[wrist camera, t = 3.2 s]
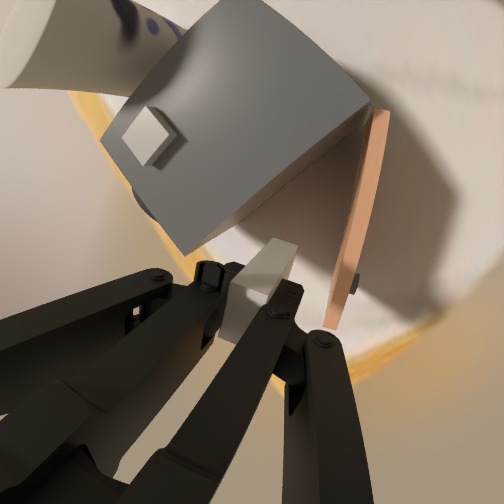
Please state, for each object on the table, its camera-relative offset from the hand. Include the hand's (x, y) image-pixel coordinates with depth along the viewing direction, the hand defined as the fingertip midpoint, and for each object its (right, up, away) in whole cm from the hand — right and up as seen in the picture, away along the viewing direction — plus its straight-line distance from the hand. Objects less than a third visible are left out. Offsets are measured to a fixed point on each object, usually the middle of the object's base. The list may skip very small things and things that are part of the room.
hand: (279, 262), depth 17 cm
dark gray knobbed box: (-2, +12, +11) cm, 17 cm away
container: (-12, +23, +12) cm, 29 cm away
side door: (+9, +5, +9) cm, 13 cm away
